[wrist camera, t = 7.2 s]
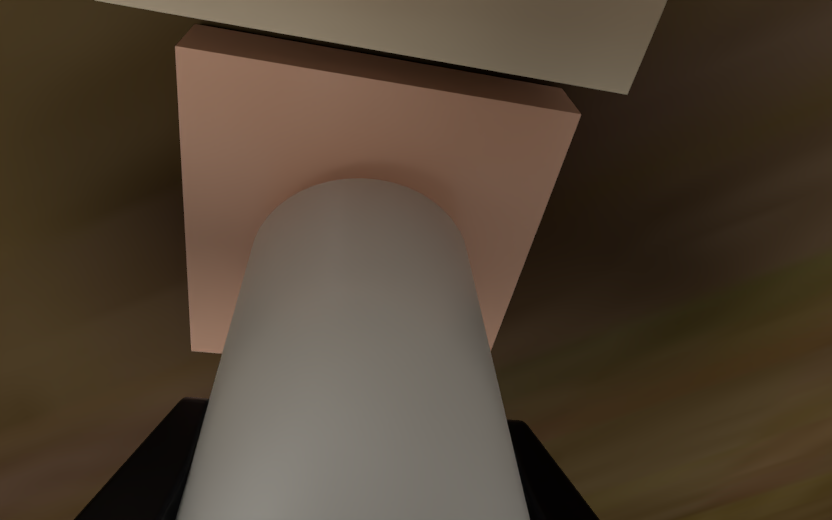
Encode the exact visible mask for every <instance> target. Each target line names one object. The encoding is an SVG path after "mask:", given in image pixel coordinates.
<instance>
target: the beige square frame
mask: <svg viewBox="0 0 832 520" xmlns="http://www.w3.org/2000/svg"><path fill="white" fill-rule="evenodd" d="M96 1H101V2H107V3H113V4H118V5H124V6H129V7H135V8H141V9H146V10H152V11H158V12H163V13H169V14H175V15H180V16H186V17H192V18H197V19H203V20H208V21H214V22H220V23H225V24H231V25H237V26H242V27H248V28H254V29H259V30H265V31H271V32H276V33H282V34H287V35H293V36H299V37H304V38H310V39H316V40H321V41H327V42H333V43H338V44H344V45H350V46H355V47H361V48H366V49H372V50H378V51H383V52H389V53H395V54H400V55H406V56H412V57H417V58H423V59H429V60H434V61H440V62H445V63H451V64H457V65H462V66H468V67H474V68H479V69H485V70H491V71H496V72H502V73H508V74H513V75H519V76H524V77H530V78H536V79H541V80H547V81H553V82H558V83H564V84H570V85H575V86H581V87H587V88H592V89H598V90H603V91H609V92H615V93H620V94H626V95H627V94H628V92H629V90H630V87H631V85H632V83H633V80H634V78H635V76H636V73H637V71H638V68H639V66H640V64H641V61H642V59H643V57H644V54H645V52H646V50H647V47H648V45H649V43H650V40H651V38H652V35H653V33H654V31H655V28H656V26H657V24H658V21H659V19H660V17H661V14H662V12H663V10H664V7H665V5H666V2H667V0H96Z"/></svg>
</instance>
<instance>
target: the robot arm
mask: <svg viewBox="0 0 832 520" xmlns="http://www.w3.org/2000/svg"><path fill="white" fill-rule="evenodd" d="M208 402H209V399H207V398H196V397H185V398H183V399H182V400H180V401H179V402H178V403H177V405H176V406H175V407H174V408H173V409H172V410H171V411H170V412H169V414H168V415H167V416H166V417H165V418H164V419H163V420H162V421H161V422H160V424H159V425H158V426H157V427H156V428H155V429H154V430H153V431H152V433H151V434H150V435H149V436H148V437H147V438H146V439H145V440H144V442H143V443H142V444H141V445H140V446H139V447H138V448H137V449H136V450H135V452H134V453H133V454H132V455H131V456H130V457H129V458H128V459H127V461H126V462H125V463H124V464H123V465H122V466H121V467H120V468H119V470H118V471H117V472H116V473H115V474H114V475H113V476H112V477H111V479H110V480H109V481H108V482H107V483H106V484H105V485H104V486H103V487H102V489H101V490H100V491H99V492H98V493H97V494H96V495H95V496H94V498H93V499H92V500H91V501H90V502H89V503H88V504H87V505H86V507H85V508H84V509H83V510H82V511H81V512H80V513H79V514H78V515H77V517H76V518H75V519H74V520H176V516H177V512H178V509H179V505H180V502H181V499H182V495H183V492H184V488H185V484H186V481H187V477H188V474H189V470H190V467H191V463H192V460H193V456H194V453H195V449H196V445H197V442H198V438H199V435H200V431H201V428H202V424H203V420H204V417H205V413H206V410H207V406H208ZM507 424H508V428H509V432H510V436H511V441H512V445H513V449H514V453H515V458H516V462H517V466H518V470H519V475H520V479H521V483H522V487H523V492H524V496H525V500H526V504H527V509H528V513H529V517H530V520H599V518H598V517H597V516H596V514H595V513H594V512H593V510H592V509H591V508H590V506H589V505H588V504H587V503H586V501H585V500H584V499H583V497H582V496H581V495H580V493H579V492H578V491H577V489H576V488H575V487H574V485H573V484H572V483H571V482H570V480H569V479H568V478H567V476H566V475H565V474H564V472H563V471H562V470H561V468H560V467H559V466H558V465H557V463H556V462H555V461H554V459H553V458H552V457H551V455H550V454H549V453H548V451H547V450H546V449H545V447H544V446H543V445H542V444H541V442H540V441H539V440H538V438H537V437H536V436H535V434H534V433H533V432H532V430H531V429H530V428H529V426H528V425H527V424H526V423H524V422H523V421H520V420H507Z"/></svg>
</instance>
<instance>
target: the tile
mask: <svg viewBox="0 0 832 520" xmlns="http://www.w3.org/2000/svg"><path fill="white" fill-rule="evenodd" d="M175 55H176V74H177V92H178V111H179V130H180V148H181V167H182V185H183V204H184V223H185V241H186V260H187V278H188V297H189V316H190V334H191V351H197V352H209V353H221V354H222V352H223V349H224V345H225V341H226V338H227V334H228V331H229V327H230V324H231V320H232V317H233V313H234V309H235V306H236V302H237V299H238V295H239V292H240V288H241V285H242V281H243V277H244V274H245V270H246V267H247V263H248V260H249V256H250V252H251V249H252V246H253V242H254V239H255V237H256V235H257V232H258V230H259V228H260V227H261V225H262V224H263V222H264V221H265V220H266V218H267V217H268V216H269V215H270V214H271V213H272V212H273V210H274V209H275V208H276V207H277V206H279V205H280V204H281V203H283V202H284V201H285V200H287V199H288V198H290V197H291V196H293V195H295V194H296V193H298V192H300V191H302V190H304V189H307V188H309V187H312V186H314V185H317V184H321V183H325V182H328V181H333V180H340V179H350V178H367V179H378V180H383V181H388V182H393V183H396V184H399V185H402V186H405V187H408V188H410V189H412V190H415V191H417V192H419V193H421V194H423V195H424V196H426V197H427V198H429V199H430V200H432V201H433V202H435V203H436V204H437V205H438V206H439V207H441V208H442V209H443V210H444V211H445V212H446V213H447V214H448V215H449V217H450V218H451V219H452V220H453V221H454V223H455V225H456V226H457V228H458V229H459V231H460V233H461V235H462V237H463V240H464V242H465V246H466V250H467V253H468V258H469V262H470V266H471V270H472V275H473V279H474V283H475V287H476V292H477V296H478V300H479V304H480V309H481V313H482V317H483V322H484V326H485V330H486V334H487V339H488V343H489V347H490V351H491V349H492V347H493V344H494V341H495V339H496V336H497V333H498V331H499V328H500V326H501V323H502V320H503V318H504V315H505V313H506V310H507V307H508V305H509V302H510V300H511V297H512V294H513V292H514V289H515V286H516V284H517V281H518V279H519V276H520V273H521V271H522V268H523V266H524V263H525V260H526V258H527V255H528V253H529V250H530V247H531V245H532V242H533V239H534V237H535V234H536V232H537V229H538V226H539V224H540V221H541V219H542V216H543V213H544V211H545V208H546V206H547V203H548V200H549V198H550V195H551V192H552V190H553V187H554V185H555V182H556V179H557V177H558V174H559V172H560V169H561V166H562V164H563V161H564V159H565V156H566V153H567V151H568V148H569V145H570V143H571V140H572V138H573V135H574V132H575V130H576V127H577V125H578V122H579V119H580V117H581V113H580V112H579V110H578V109H577V108H576V106H575V105H574V104H573V102H572V101H571V100H570V98H569V97H568V96H567V94H566V93H565V92H564V90H563V89H562V88H558V87H552V86H546V85H541V84H535V83H529V82H523V81H518V80H512V79H506V78H501V77H495V76H489V75H484V74H478V73H472V72H467V71H461V70H455V69H449V68H444V67H438V66H432V65H427V64H421V63H415V62H410V61H404V60H398V59H392V58H387V57H381V56H375V55H370V54H364V53H358V52H353V51H347V50H341V49H336V48H330V47H324V46H318V45H313V44H307V43H301V42H296V41H290V40H284V39H279V38H273V37H267V36H261V35H256V34H250V33H244V32H239V31H233V30H227V29H222V28H216V27H210V26H205V25H199V24H194V25H193V26H192V28H191V29H190V30H189V31H188V32H187V33H186V34H185V35H184V36H183V38H182V39H181V40H180V41H179V42H178V43H177V44H176V45H175Z"/></svg>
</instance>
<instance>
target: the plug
mask: <svg viewBox="0 0 832 520" xmlns="http://www.w3.org/2000/svg"><path fill="white" fill-rule="evenodd" d="M176 520H530V517H529V513H528V509H527V504H526V500H525V496H524V492H523V487H522V483H521V479H520V475H519V470H518V466H517V462H516V458H515V453H514V449H513V445H512V441H511V436H510V432H509V428H508V424H507V419H506V415H505V411H504V407H503V402H502V398H501V394H500V390H499V385H498V381H497V377H496V373H495V368H494V364H493V360H492V356H491V351H490V347H489V343H488V339H487V334H486V330H485V326H484V322H483V317H482V313H481V309H480V304H479V300H478V296H477V292H476V287H475V283H474V279H473V275H472V270H471V266H470V262H469V258H468V253H467V250H466V246H465V242H464V240H463V237H462V235H461V233H460V231H459V229H458V228H457V226H456V225H455V223H454V221H453V220H452V219H451V218H450V217H449V215H448V214H447V213H446V212H445V211H444V210H443V209H442V208H441V207H439V206H438V205H437V204H436V203H435V202H433V201H432V200H430V199H429V198H427V197H426V196H424V195H423V194H421V193H419V192H417V191H415V190H412V189H410V188H408V187H405V186H402V185H399V184H396V183H393V182H388V181H383V180H378V179H367V178H350V179H340V180H333V181H328V182H325V183H321V184H317V185H314V186H312V187H309V188H307V189H304V190H302V191H300V192H298V193H296V194H295V195H293V196H291V197H290V198H288V199H287V200H285V201H284V202H283V203H281V204H280V205H279V206H277V207H276V208H275V209H274V210H273V212H272V213H271V214H270V215H269V216H268V217H267V218H266V220H265V221H264V222H263V224H262V225H261V227H260V228H259V230H258V232H257V235H256V237H255V239H254V242H253V246H252V249H251V252H250V256H249V260H248V263H247V267H246V270H245V274H244V277H243V281H242V285H241V288H240V292H239V295H238V299H237V302H236V306H235V309H234V313H233V317H232V320H231V324H230V327H229V331H228V334H227V338H226V341H225V345H224V349H223V352H222V356H221V359H220V363H219V366H218V370H217V374H216V377H215V381H214V384H213V388H212V391H211V395H210V398H209V402H208V406H207V410H206V413H205V417H204V420H203V424H202V428H201V431H200V435H199V438H198V442H197V445H196V449H195V453H194V456H193V460H192V463H191V467H190V470H189V474H188V477H187V481H186V484H185V488H184V492H183V495H182V499H181V502H180V505H179V509H178V512H177V516H176Z"/></svg>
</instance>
